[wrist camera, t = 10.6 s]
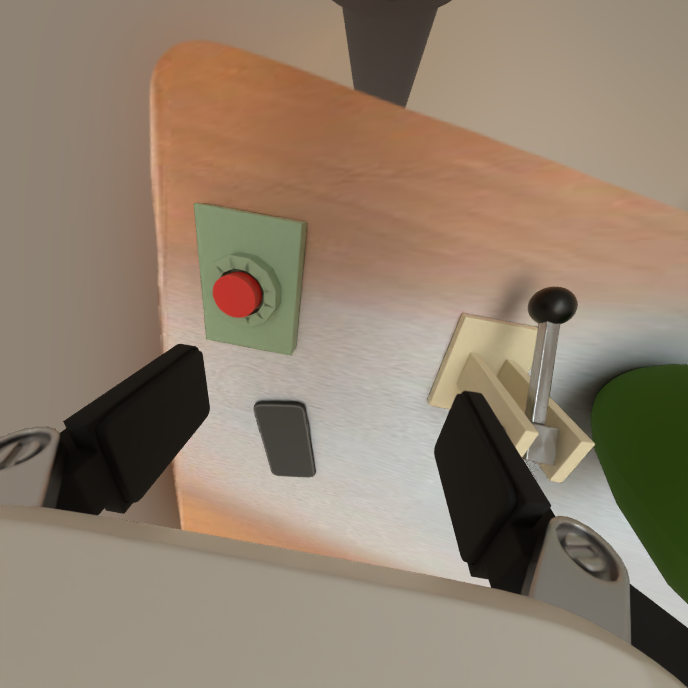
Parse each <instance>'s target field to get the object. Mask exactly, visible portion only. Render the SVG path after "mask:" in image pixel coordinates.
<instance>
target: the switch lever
mask: <svg viewBox="0 0 688 688" xmlns="http://www.w3.org/2000/svg"><path fill="white" fill-rule="evenodd" d="M577 306H578V303H577V299H576V297H575V295H574V294H573V293H572V292H571V291H569V290H567V289H565V288H562V287H548V288H544V289H542V290H540V291H538V292H537V293H535V294H534V295H533V296H532V298H531V299H530V301H529V304H528V312H529V315H530V316H531V318H532V319H533V320H534V321H535V322H537V323H538V330H537V336H536V343H535V350H534V356H533V363H532V369H531V376H530V383H529V389H528V396H527V403H526V409H525V415H526V417H527V418H528V419H529V421H530V422H531V423H532V425H533V426H534V427H535V429H536V430H537V431H538V433H539V434H538V436H537V437H536V439H535V440H534V442H533V443H532V444H531V446H530V447H529V449H528V450H527V451H526V453H525V454H524V456H523V457H522V458H523V459H525V460H528V461H533V462H538V463H543V464H548V465H554V464H555V457H556V450H557V444H558V437H559V429H558V428H555V427H552V426H549V425H546V424H545V423H546V417H547V410H548V403H549V396H550V389H551V383H552V376H553V369H554V362H555V355H556V348H557V342H558V335H559V328H560V324H562V323H565V322H567V321H568V320H569V319H571V318H572V317H573V316H574V314H575V312H576V310H577Z"/></svg>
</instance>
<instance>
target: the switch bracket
mask: <svg viewBox="0 0 688 688" xmlns="http://www.w3.org/2000/svg"><path fill="white" fill-rule="evenodd" d="M537 330H538V327H534V326H529V325H523V324H518V323H513V322H507V321H502V320H497V319H491V318H486V317H481V316H475V315H470V314H465V313H462V315H461V317H460V320H459V322H458V325H457V327H456V330H455V332H454V335H453V337H452V340H451V342H450V345H449V347H448V350H447V352H446V355H445V357H444V360H443V362H442V365H441V367H440V370H439V372H438V375H437V377H436V380H435V382H434V385H433V387H432V390H431V392H430V395H429V397H428V402H429V405H431V406H436V407H441V408H446V409H451V406H452V404H453V401H454V399H455V397H456V395H457V394H461V393H462V392H463V391H465V390H466V391H472V392H478V393H482V394H483V396H484V397H485V399H486V400H487V402H488V404H489V405H490V407H491V409H492V410H493V412H494V413H495V415H496V417H497V418H498V420H499V421H500V423H501V425H502V426H503V428H504V430H505V431H506V433H507V434H508V436H509V438H510V439H511V441H512V443H513V444H514V446H515V447H516V449H517V451H518V452H519V454H520V456H521V457H523V456H524V454H525V453H526V451H527V450H528V449H529V447H530V446H531V444H532V443H533V442H534V440H535V439H536V437H537V436H538V434H539V433H538V431H537V430H536V429H535V427H534V426H533V425H532V423H531V422H530V421H529V419H528V418H527V417H526V415H525V409H526V403H527V396H528V389H529V383H530V376H529V375H528V374H527V373H528V372H529V370H530V368H531V367H532V363H533V356H534V350H535V343H536V336H537ZM545 424H546V425H549V426H552V427H555V428H558V429H559V437H558V444H557V450H556V457H555V464H554V465H548V464H543V463H538V464H539V465H540V467H541V468H542V470H543V471H544V473H545V474H546V476H547V477H548V479H549V480H550V481H554V482H559V483H562V482H563V481H564V480H565V479H566V477H567V476H568V475H569V474H570V473H571V472H572V471H573V469H574V468H575V467H576V466H577V465H578V464H579V463H580V461H581V460H582V459H583V458H584V457H585V456H586V455H587V453H588V452H589V451H590V450H591V449H592V448H593V447H594V445H595V443H594V442H593V441H592V440H591V439H590V438H589V437H588V436H587V435H586V434H585V433H584V432H583V431H582V430H581V429H580V428H579V427H578V426H577V425H576V423H575V422H574V421H573V420H572V419H571V418H570V417H569V416H568V415H567V414H566V413H565V412H564V411H563V410H562V409H561V408H560V407H559V406H558V405H557V404H556V403H555V402H554V401H553V400H552V399H551V397H550V396H549V403H548V410H547V417H546V423H545Z"/></svg>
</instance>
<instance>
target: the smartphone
mask: <svg viewBox="0 0 688 688" xmlns="http://www.w3.org/2000/svg"><path fill="white" fill-rule="evenodd" d="M254 412H255V418H256V419H257V420H256V421H257V425H258V426H259V432H260V433H261V437H262V440H263V444H264V447H265V451H266V454H267V458H268V461H269V465H270V468H271V472H272V473H273V474H274V475H277V476H290V477H313V476H314V475H315V473H316V470H315V464H314V458H313V452H312V445H311V439H310V433H309V431H310V430H309V424H308V421H307V415H306V409H305V407H304V405H303V404H300V403H291V402H258V403H256V404H255V405H254Z"/></svg>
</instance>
